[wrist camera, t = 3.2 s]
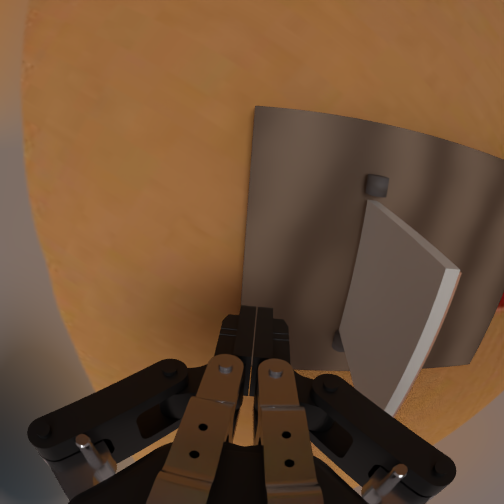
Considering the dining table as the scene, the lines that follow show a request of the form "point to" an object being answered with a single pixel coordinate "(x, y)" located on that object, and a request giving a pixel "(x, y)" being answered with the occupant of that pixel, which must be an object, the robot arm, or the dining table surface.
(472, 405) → the dining table surface
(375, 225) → the tile
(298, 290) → the walnut board
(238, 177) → the dining table surface
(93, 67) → the dining table surface
